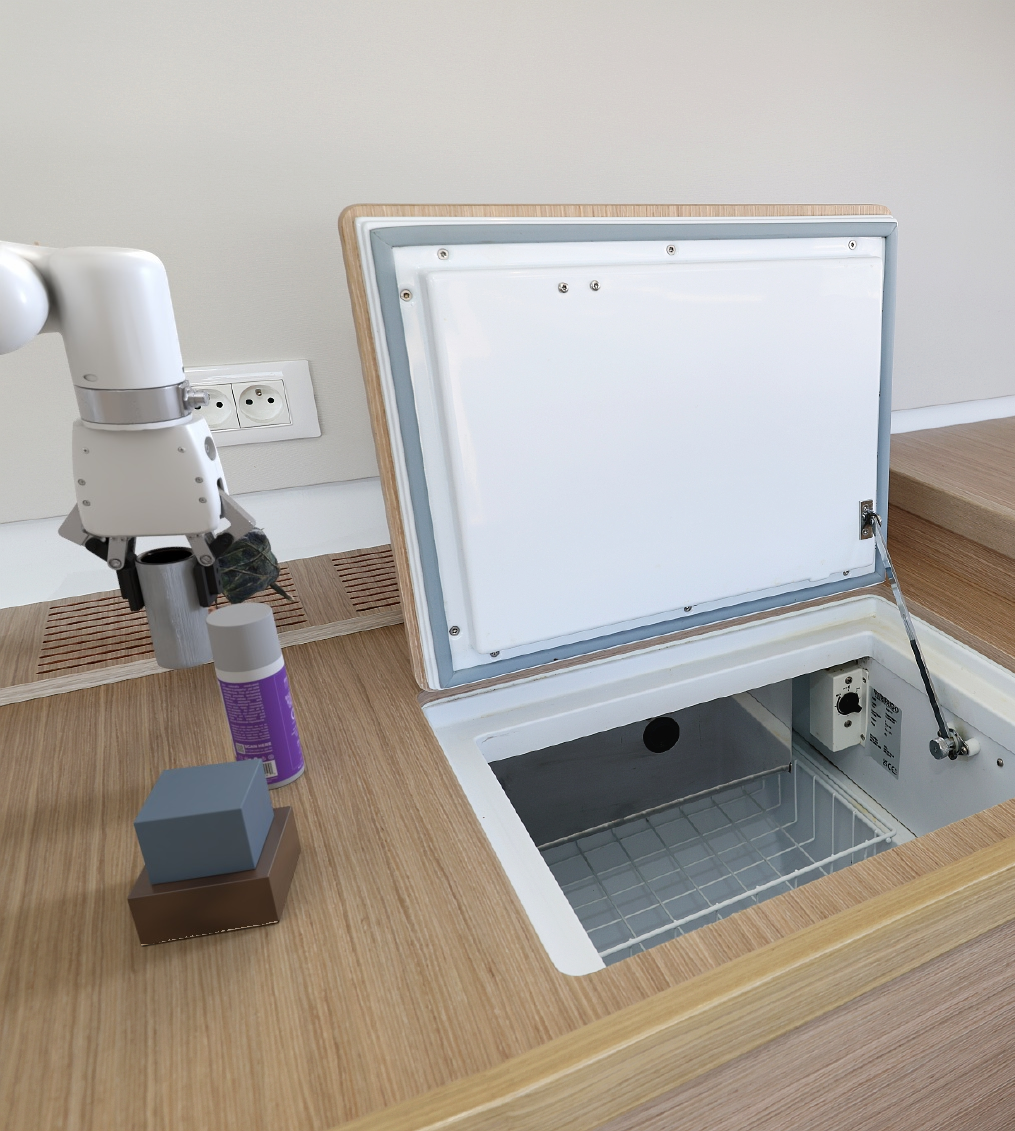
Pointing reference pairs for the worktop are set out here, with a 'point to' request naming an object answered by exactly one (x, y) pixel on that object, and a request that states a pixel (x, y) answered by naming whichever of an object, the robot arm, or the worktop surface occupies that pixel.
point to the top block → (205, 821)
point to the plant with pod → (248, 569)
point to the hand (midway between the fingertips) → (175, 601)
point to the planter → (174, 607)
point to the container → (256, 690)
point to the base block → (220, 892)
